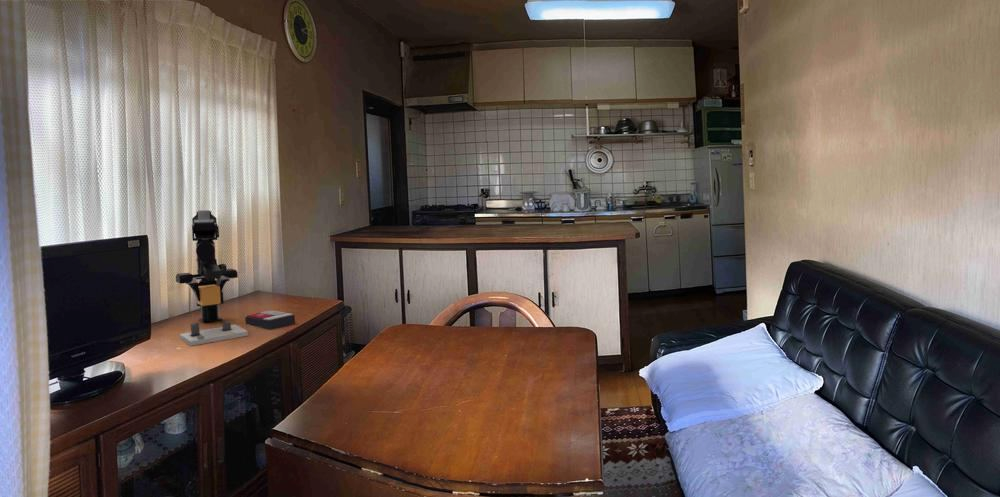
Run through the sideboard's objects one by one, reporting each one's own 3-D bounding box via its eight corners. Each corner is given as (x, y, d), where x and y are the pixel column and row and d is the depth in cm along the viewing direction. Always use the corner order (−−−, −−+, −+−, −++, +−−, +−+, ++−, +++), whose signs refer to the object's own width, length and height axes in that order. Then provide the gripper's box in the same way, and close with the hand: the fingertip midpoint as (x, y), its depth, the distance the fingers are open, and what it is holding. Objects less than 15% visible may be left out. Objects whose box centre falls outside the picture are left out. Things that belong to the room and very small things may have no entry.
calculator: (270, 309, 223) (294, 312, 215) (271, 320, 224) (295, 324, 215) (244, 315, 214) (268, 318, 206) (245, 326, 214) (269, 330, 206)
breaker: (190, 335, 193) (189, 323, 193) (198, 333, 195) (197, 322, 195) (192, 336, 192) (191, 324, 191) (200, 335, 193) (200, 323, 193)
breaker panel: (180, 338, 195) (179, 332, 194) (235, 328, 207) (234, 323, 207) (190, 346, 186) (190, 339, 186) (247, 335, 198) (247, 329, 198)
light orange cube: (197, 303, 203) (196, 286, 202) (215, 300, 207) (214, 284, 206) (202, 306, 198) (201, 288, 198) (220, 303, 202) (219, 286, 202)
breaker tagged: (221, 333, 200) (221, 322, 200) (229, 332, 202) (228, 321, 202) (224, 335, 199) (223, 323, 198) (232, 333, 200) (231, 322, 200)
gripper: (182, 260, 188) (185, 307, 190) (242, 255, 201) (244, 299, 203) (173, 257, 196) (176, 302, 198) (231, 253, 209) (233, 295, 211)
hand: (208, 300), depth 202 cm, fingers closed on light orange cube, 6 cm apart
